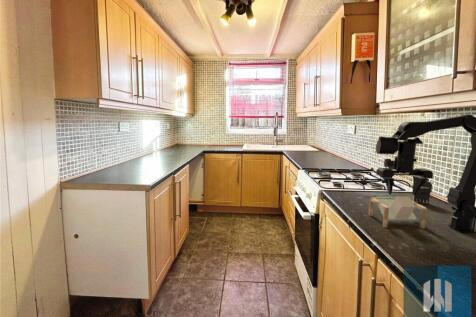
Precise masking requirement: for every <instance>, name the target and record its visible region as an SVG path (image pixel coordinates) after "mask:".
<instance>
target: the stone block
mask: <svg viewBox="0 0 476 317" xmlns="http://www.w3.org/2000/svg"><path fill="white" fill-rule="evenodd" d="M395 197H396V198H395V200H394V202H393V203H392V205H391V207H390V209H391V211H392V213H393V215H394V217H395V218H408V217H409V216H410V214H411V213H412V211H413V212H414V209H415V208H416V207H415V205H414V203H413V202H412V201H413V199H411V196H403V195H402V196H399V195H398V196H395Z"/></svg>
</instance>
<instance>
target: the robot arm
mask: <svg viewBox="0 0 476 317" xmlns="http://www.w3.org/2000/svg"><path fill="white" fill-rule="evenodd" d="M454 128H463V129H464V130H465V131H466V132H467V133H469V134H471V135H470V139H469V140H470V145H471V149H470V152H469V155H468V158H467V161H466V163H465V166H464V169H463V171H462V174H461V176H460V179H459V183H458V184H457V185H456V186H455V187H449V188H448V194H447V195H446V196H445V197H446V198H447V200H446V201H447V203H448V205H449V206H450V208H451V210H452V211H453V213H452V216H451V220H450V223H449V224H447V225H448V226H449V227H450V228H452V229H454V230H456V231H457V232H459V233H475V234H476V229H475V227H476V116H474V115H473V114H460V115H456V116H452V117H451V116H450V117H445V118H440V119H439V118H438V119H433V120H429V121H404V122H401V123H400V124H399V125H398V129H397V130H396V131H395V133H394V134H393V135H392V136H382V135H381V136H378V139H377V142H376V144H375V153H376V155H377V154H378V155H395V154H396V153H397V156H395V157H394V159H393V160H392V159H391V158H385V159H384V160H383V161H384V162H383V167H378V168H377V169H376V173H375V175H376V176H378V177H379V178H381V179H383V181H384V183H385V186H386V190H387V193H388V194H387V195H392V192H393V189H394V188H393V187H394V182H395V178H393V177H394V176H412V180H413V182H412V183H413V184H412V192H411V193H412V196H413V195H415V194H416V193H417V192H418V190H419V189H420V188H421V186H422V185H423V184H424V183H425V182H426V181H429V180H430V179H432V180H433V177H434V172H433V171H432V170H431V169H430V170H429V169H426V168H417V167H416V168H415V167H414V166H415V162H417V158H415V157H416V151H417V150H416V149H417V145H418V144H419V145H422V144H424V141H423V140H421V139H420V136H423V135H425V134H428V133H430V132H435V131H442V130H447V129H454ZM429 182H430V181H429Z"/></svg>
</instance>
